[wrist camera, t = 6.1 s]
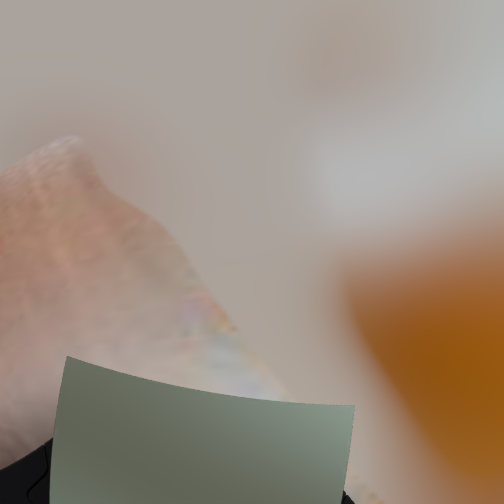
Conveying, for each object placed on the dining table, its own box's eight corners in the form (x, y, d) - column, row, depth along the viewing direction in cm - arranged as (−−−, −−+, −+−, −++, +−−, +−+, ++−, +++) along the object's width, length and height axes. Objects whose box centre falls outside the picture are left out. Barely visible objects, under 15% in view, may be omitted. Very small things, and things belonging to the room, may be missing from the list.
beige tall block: (232, 471, 13) (310, 613, 2) (153, 457, 12) (54, 575, 2) (243, 399, 14) (354, 405, 4) (164, 385, 14) (66, 356, 3)
